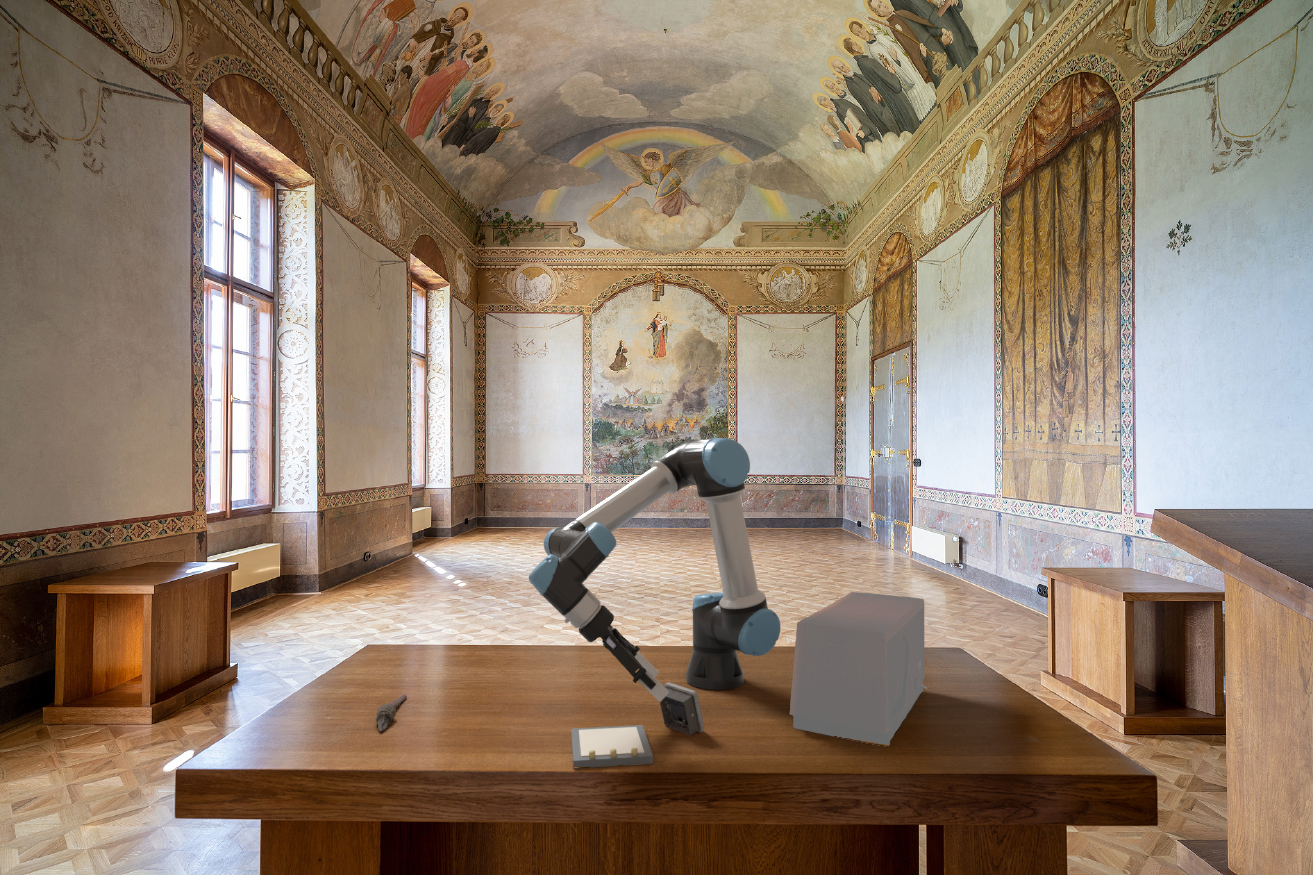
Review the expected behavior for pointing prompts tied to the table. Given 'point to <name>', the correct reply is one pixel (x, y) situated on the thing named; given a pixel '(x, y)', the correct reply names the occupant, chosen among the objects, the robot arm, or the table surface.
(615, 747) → the plate
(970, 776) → the table surface
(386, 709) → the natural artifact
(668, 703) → the electrical switch
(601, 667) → the table surface
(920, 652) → the grey rounded box
